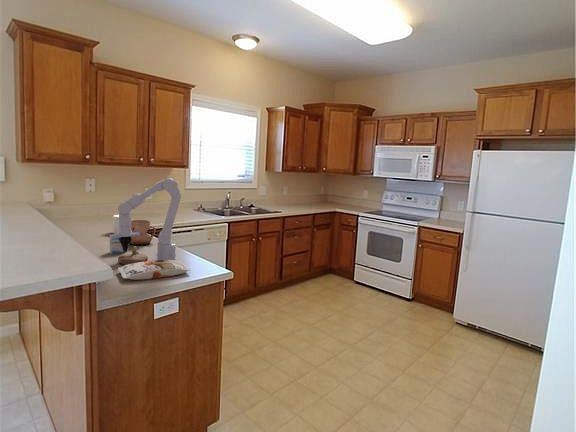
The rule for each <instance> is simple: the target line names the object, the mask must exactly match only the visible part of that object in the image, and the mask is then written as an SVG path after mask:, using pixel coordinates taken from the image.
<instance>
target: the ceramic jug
mask: <svg viewBox="0 0 576 432" xmlns="http://www.w3.org/2000/svg"><path fill="white" fill-rule="evenodd" d="M149 229H153V230H152V234H151V235H150V234H148V230H149ZM156 230H157V229H156V227H155V226H154V225H151V221H150V220H148V219H147V220H146V219H131V233H136V232H139V233H140V237H131V238H132V240H131V242H130V243H129V244H132V245H137V246H140V245H141V246H142V245H146V244H149V243H151V242H152V240H153V237H154V236H155V233H156Z"/></svg>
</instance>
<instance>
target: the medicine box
mask: <svg viewBox="0 0 576 432" xmlns="http://www.w3.org/2000/svg"><path fill="white" fill-rule="evenodd" d="M109 252H110V254H111V255H112V254H113V255H114V254H123V253H124V254H126V253H125V252H124V251H123V248H122V245H121V243H120V241H119V239H118V238H116V239H110V238H109Z"/></svg>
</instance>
